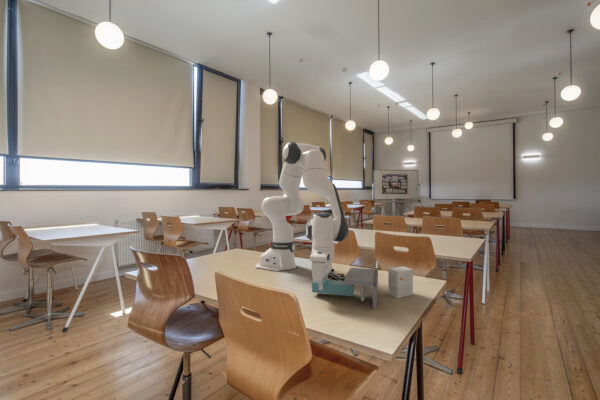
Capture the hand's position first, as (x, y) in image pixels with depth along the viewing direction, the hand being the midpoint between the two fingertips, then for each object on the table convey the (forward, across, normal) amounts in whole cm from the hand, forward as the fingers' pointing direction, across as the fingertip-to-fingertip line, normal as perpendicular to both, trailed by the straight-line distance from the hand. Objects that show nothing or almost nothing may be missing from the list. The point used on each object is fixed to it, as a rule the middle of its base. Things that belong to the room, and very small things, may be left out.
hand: (323, 287), depth 119 cm
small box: (+4, -9, +30) cm, 31 cm away
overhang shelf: (+3, 0, +15) cm, 16 cm away
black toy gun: (+4, -29, -2) cm, 29 cm away
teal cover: (+2, 0, +4) cm, 4 cm away
